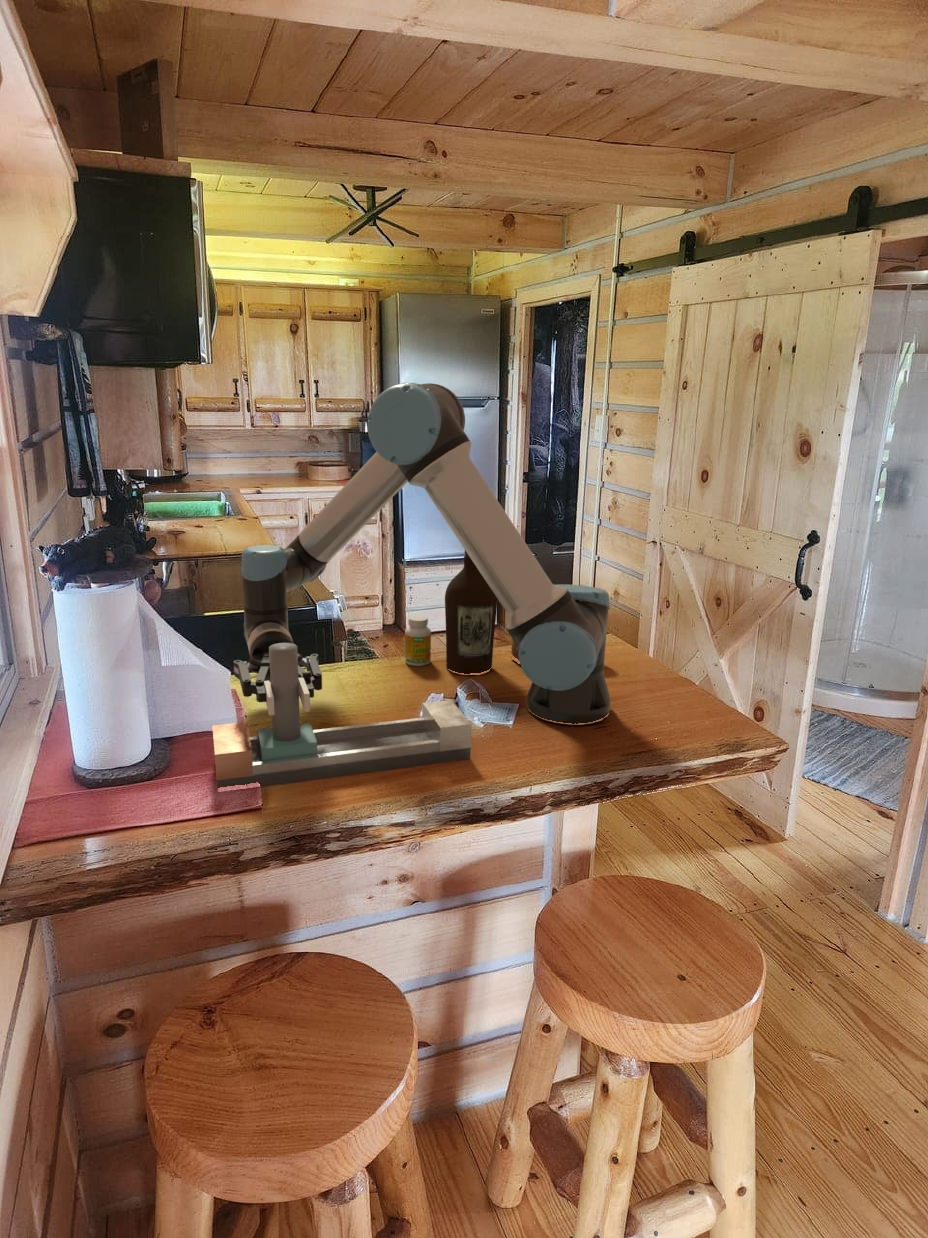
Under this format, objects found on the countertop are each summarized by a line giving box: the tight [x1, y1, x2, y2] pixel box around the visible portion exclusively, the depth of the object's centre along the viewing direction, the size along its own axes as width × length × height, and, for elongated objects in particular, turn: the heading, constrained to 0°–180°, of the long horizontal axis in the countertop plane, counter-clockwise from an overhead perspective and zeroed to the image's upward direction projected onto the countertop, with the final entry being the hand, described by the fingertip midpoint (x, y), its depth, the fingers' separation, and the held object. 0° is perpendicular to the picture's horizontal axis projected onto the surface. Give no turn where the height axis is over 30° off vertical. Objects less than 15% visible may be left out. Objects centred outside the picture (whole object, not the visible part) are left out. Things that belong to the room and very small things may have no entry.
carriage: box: [256, 643, 318, 761], centre depth 117 cm, size 8×7×17 cm
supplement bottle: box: [404, 615, 432, 667], centre depth 164 cm, size 5×5×10 cm
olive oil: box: [444, 549, 499, 674], centre depth 159 cm, size 11×11×25 cm
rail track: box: [211, 699, 472, 788], centre depth 122 cm, size 38×10×6 cm, turn 109°
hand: (289, 704), depth 111 cm, fingers open, 4 cm apart
